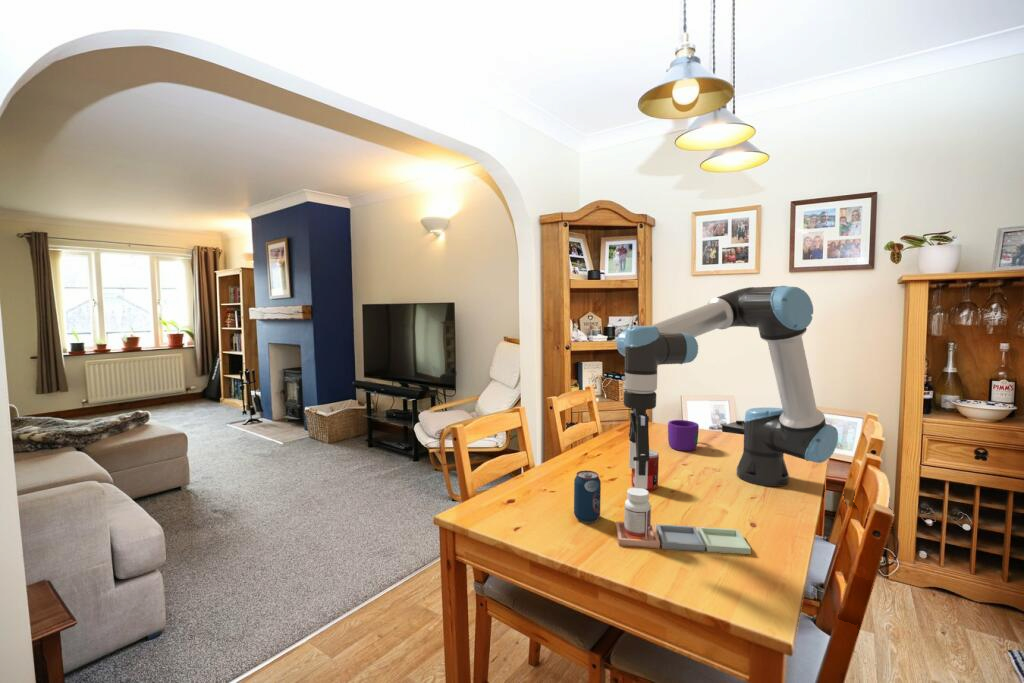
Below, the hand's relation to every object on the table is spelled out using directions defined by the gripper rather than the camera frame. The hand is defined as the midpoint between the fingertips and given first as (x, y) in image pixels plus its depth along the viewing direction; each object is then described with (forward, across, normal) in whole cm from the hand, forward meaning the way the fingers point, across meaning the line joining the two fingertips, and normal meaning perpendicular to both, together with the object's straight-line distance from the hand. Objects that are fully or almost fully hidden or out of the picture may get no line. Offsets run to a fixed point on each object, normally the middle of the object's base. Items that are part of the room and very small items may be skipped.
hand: (637, 477), depth 117 cm
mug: (+15, -80, +27) cm, 86 cm away
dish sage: (+15, 0, +20) cm, 25 cm away
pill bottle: (+15, 0, 0) cm, 15 cm away
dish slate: (+15, 0, +10) cm, 18 cm away
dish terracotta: (+15, 0, 0) cm, 15 cm away
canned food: (+15, -34, +6) cm, 38 cm away
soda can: (+15, -9, -12) cm, 21 cm away
